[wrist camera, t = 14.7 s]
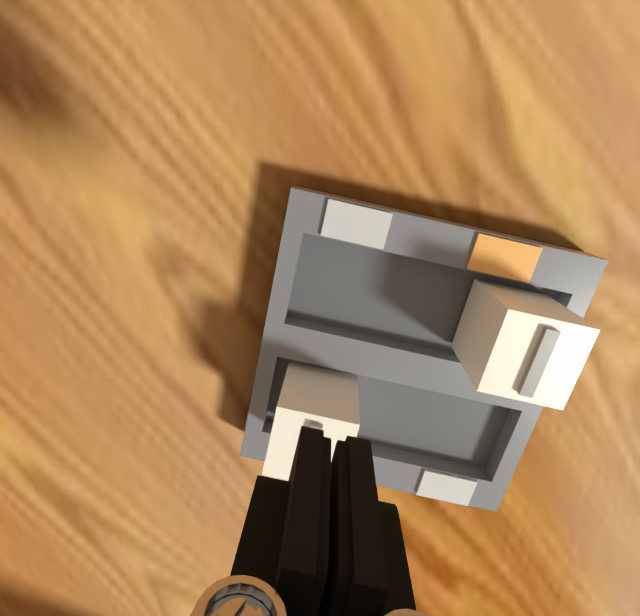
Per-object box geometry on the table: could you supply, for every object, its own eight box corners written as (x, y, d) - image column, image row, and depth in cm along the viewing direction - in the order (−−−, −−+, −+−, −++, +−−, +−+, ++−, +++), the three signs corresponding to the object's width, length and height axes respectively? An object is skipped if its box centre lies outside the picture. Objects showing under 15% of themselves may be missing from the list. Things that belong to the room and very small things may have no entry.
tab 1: (520, 361, 24) (566, 414, 19) (450, 346, 24) (478, 394, 19) (547, 295, 23) (604, 332, 18) (474, 278, 23) (510, 311, 18)
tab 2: (341, 432, 26) (340, 496, 21) (276, 418, 26) (261, 479, 21) (357, 375, 25) (360, 428, 20) (289, 360, 25) (275, 410, 20)
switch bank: (485, 485, 29) (497, 513, 26) (247, 434, 28) (239, 457, 26) (585, 251, 23) (610, 261, 21) (295, 185, 23) (290, 188, 21)
